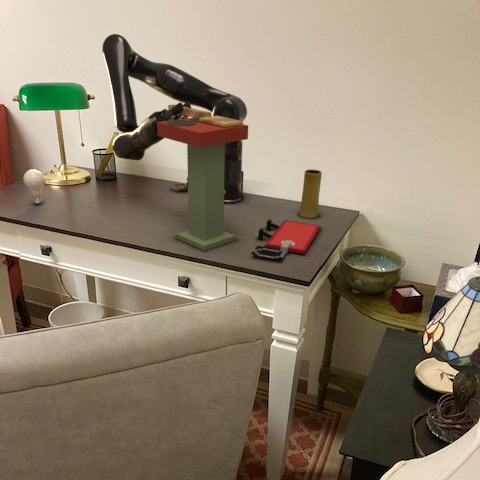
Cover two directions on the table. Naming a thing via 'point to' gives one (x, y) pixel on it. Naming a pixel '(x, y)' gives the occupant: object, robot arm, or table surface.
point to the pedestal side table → (204, 177)
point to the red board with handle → (286, 239)
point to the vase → (310, 194)
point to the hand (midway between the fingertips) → (185, 105)
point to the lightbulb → (34, 184)
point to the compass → (180, 187)
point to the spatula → (208, 117)
